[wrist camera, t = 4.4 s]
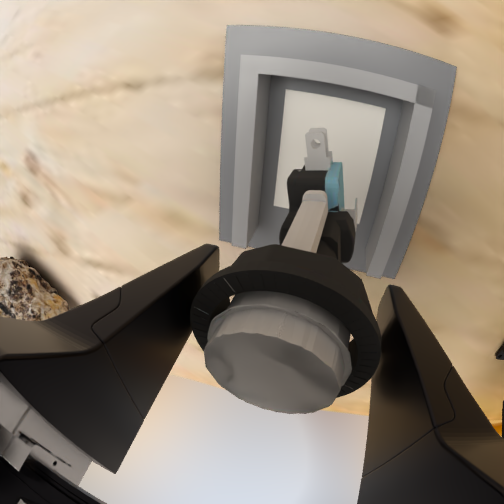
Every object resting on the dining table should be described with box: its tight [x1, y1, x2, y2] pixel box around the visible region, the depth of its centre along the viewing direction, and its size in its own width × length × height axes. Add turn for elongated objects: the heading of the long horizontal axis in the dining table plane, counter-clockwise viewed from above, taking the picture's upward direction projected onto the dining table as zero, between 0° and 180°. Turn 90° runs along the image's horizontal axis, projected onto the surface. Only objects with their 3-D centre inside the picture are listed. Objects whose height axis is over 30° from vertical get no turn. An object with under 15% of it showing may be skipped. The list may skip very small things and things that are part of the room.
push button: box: [190, 128, 381, 414], centre depth 11 cm, size 7×5×10 cm
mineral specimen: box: [0, 257, 69, 321], centre depth 36 cm, size 16×18×10 cm
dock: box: [219, 25, 457, 279], centre depth 17 cm, size 14×16×4 cm
